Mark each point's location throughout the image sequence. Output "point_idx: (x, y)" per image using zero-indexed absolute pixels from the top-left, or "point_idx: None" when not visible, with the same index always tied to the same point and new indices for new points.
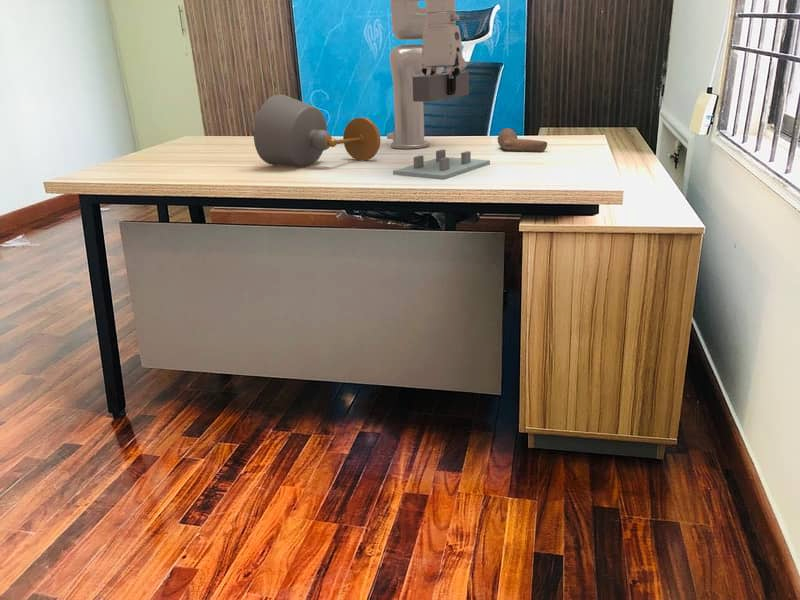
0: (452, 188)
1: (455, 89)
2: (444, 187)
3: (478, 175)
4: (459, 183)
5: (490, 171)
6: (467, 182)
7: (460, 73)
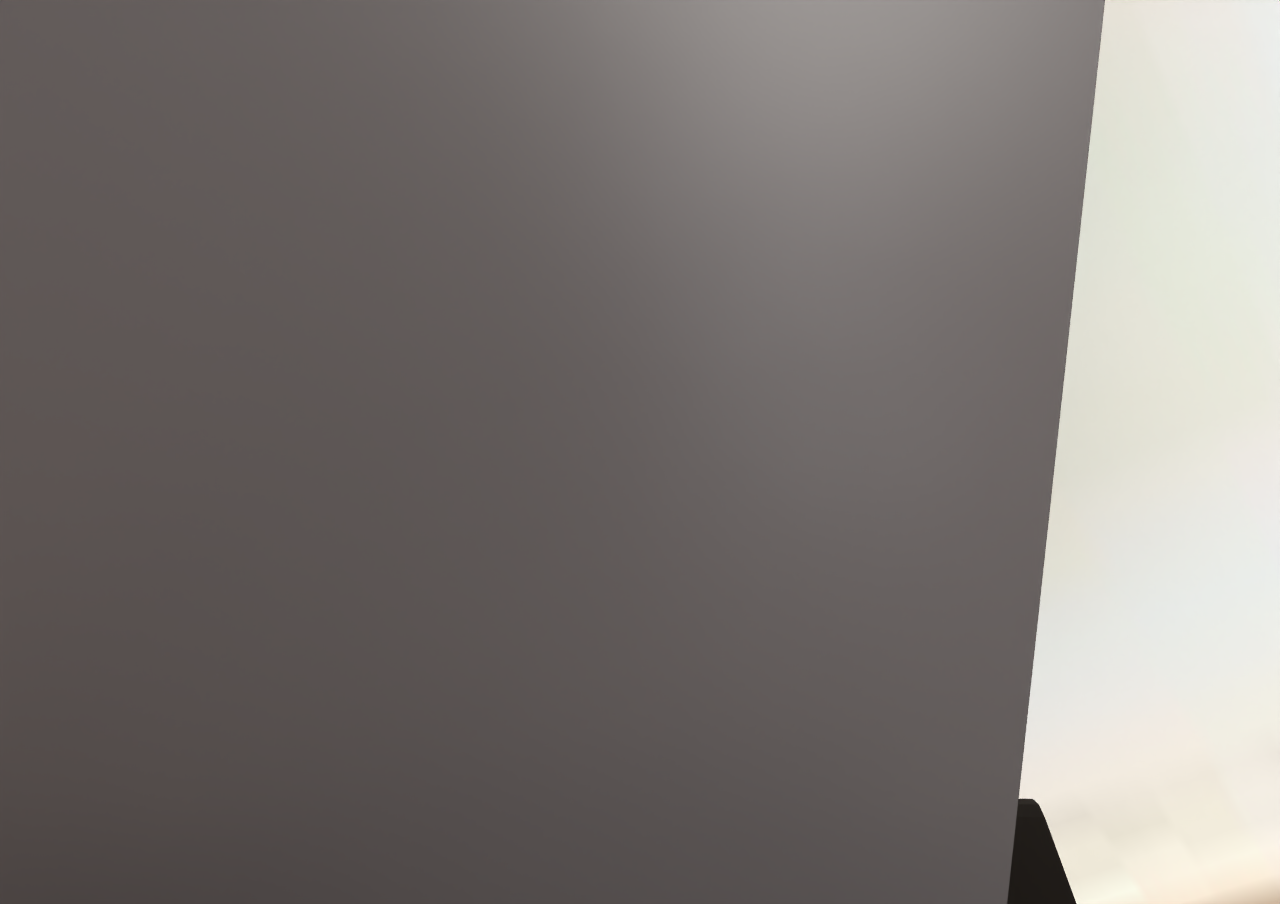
0: (1184, 896)
1: (1038, 830)
2: (1110, 891)
3: (1192, 417)
4: (1162, 750)
5: (1240, 183)
6: (1212, 699)
7: (1039, 483)
